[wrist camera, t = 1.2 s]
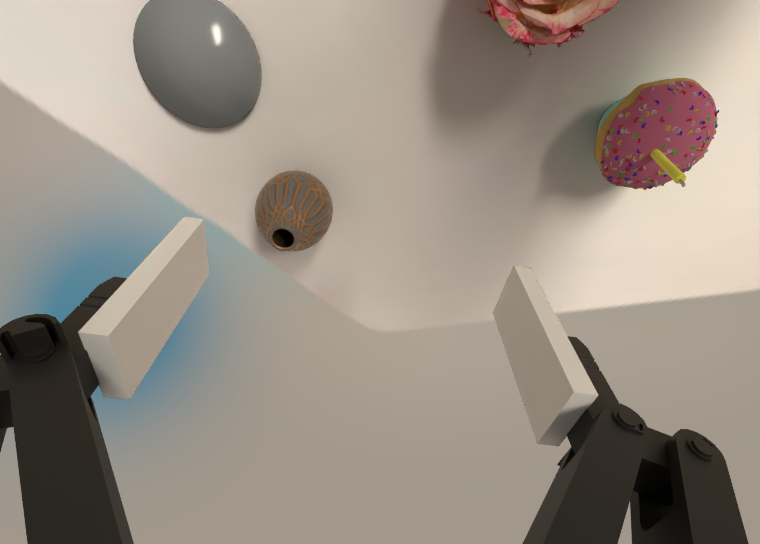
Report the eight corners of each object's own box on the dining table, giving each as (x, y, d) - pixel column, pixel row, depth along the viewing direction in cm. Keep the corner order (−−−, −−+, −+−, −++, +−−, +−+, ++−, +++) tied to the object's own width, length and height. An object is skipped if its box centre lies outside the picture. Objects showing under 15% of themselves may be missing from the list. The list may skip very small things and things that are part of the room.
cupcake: (586, 183, 38) (656, 248, 28) (564, 102, 34) (637, 145, 24) (683, 140, 36) (796, 195, 26) (672, 47, 31) (803, 70, 22)
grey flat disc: (127, -26, 29) (123, -26, 29) (263, 7, 30) (261, 7, 30) (146, 112, 35) (142, 114, 34) (259, 136, 36) (257, 138, 35)
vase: (295, 146, 36) (272, 182, 29) (350, 194, 39) (342, 239, 32) (253, 195, 39) (223, 239, 32) (307, 237, 42) (291, 286, 35)
